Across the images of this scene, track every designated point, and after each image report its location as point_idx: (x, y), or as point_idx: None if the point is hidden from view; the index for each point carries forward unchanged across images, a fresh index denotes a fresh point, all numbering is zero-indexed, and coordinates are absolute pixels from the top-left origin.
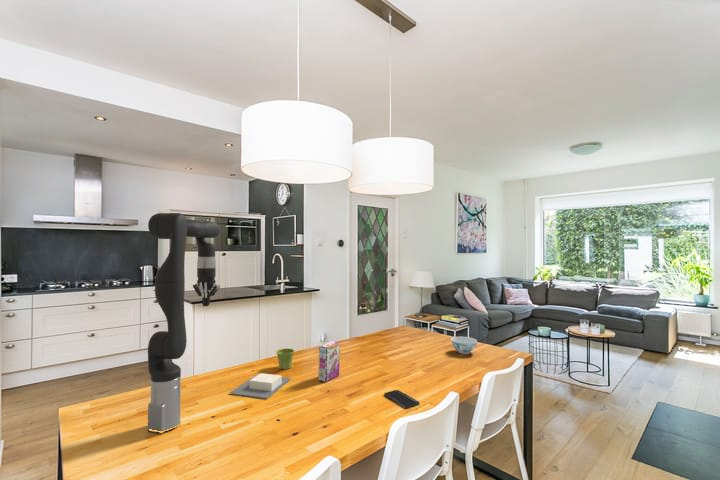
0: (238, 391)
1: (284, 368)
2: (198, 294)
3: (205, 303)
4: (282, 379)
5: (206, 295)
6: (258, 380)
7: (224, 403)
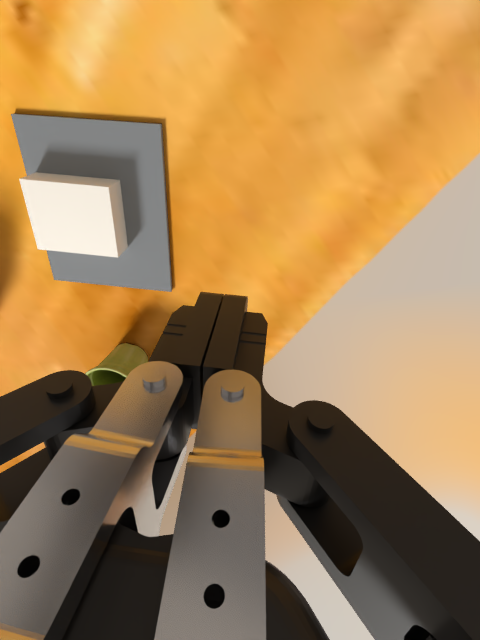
0: (137, 144)
1: (121, 344)
2: (342, 430)
3: (197, 309)
4: (71, 268)
5: (133, 394)
6: (78, 193)
7: (123, 36)
